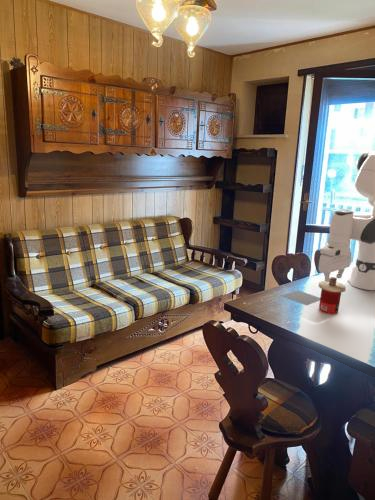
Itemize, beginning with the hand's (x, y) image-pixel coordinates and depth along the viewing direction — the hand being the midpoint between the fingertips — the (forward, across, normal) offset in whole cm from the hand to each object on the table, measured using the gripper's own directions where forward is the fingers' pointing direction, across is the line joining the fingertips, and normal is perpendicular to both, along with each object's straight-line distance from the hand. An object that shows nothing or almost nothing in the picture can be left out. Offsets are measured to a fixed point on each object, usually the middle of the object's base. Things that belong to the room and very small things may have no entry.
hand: (333, 279), depth 166 cm
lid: (+4, 0, 0) cm, 4 cm away
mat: (+15, -4, -16) cm, 22 cm away
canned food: (+15, 0, 0) cm, 15 cm away
